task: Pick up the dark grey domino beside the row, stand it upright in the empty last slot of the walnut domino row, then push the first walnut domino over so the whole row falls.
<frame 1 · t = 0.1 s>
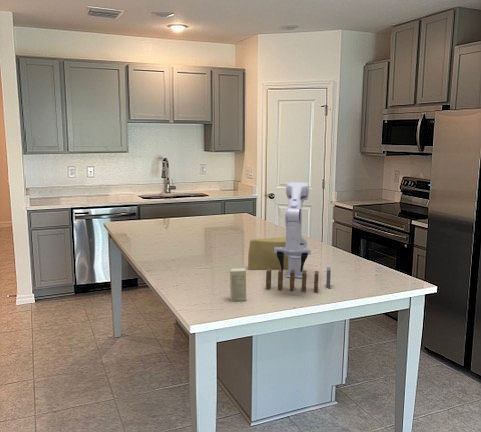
hand: (291, 270, 196), 10 cm above the counter, tool pointing down, fingers open, 7 cm apart
walnut domino 3: (292, 289, 204), on the counter
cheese: (270, 268, 237), on the counter
walnut domino 2: (280, 288, 205), on the counter
grey domino: (328, 286, 208), on the counter
walnut domino 5: (315, 291, 202), on the counter
walnut domino 4: (303, 290, 203), on the counter
skincare box: (238, 299, 191), on the counter
walnut domino 1: (268, 287, 206), on the counter
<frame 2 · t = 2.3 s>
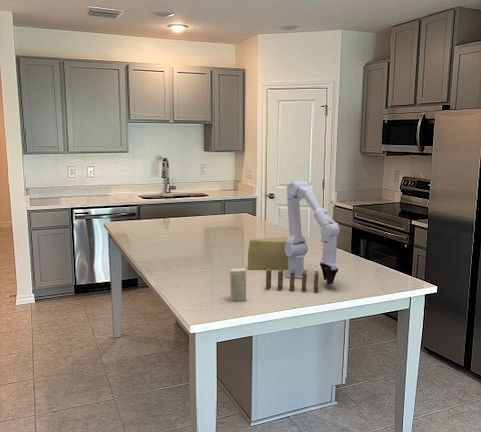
hand: (328, 281, 208), 2 cm above the counter, tool pointing down, fingers closed on grey domino, 5 cm apart
grey domino: (328, 286, 208), on the counter, touching gripper
everything else where it was.
when the fingers open (3 cm above the counter, at t = 6.3 s): grey domino drops 1 cm, on the counter.
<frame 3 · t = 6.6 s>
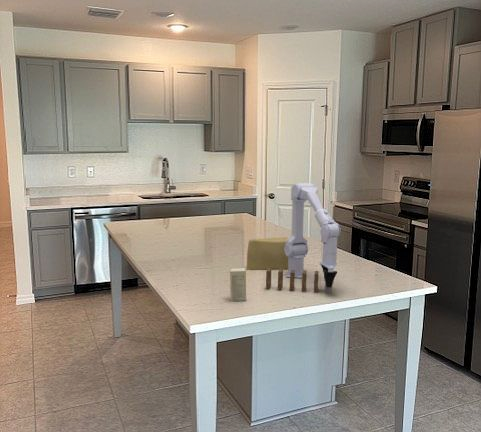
hand: (328, 284, 201), 3 cm above the counter, tool pointing down, fingers open, 7 cm apart
grey domino: (328, 291, 202), on the counter
everything else where it was.
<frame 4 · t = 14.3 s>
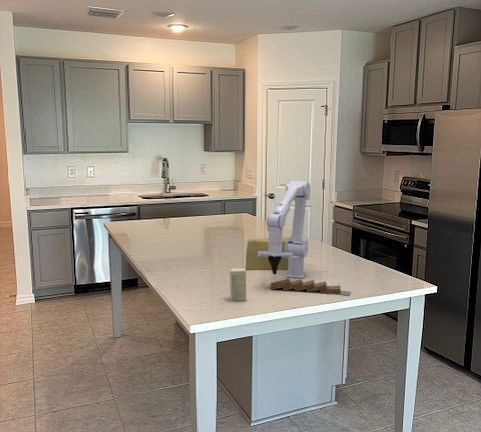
hand: (274, 273, 204), 6 cm above the counter, tool pointing down, fingers closed
walnut domino 3: (295, 287, 204), point 1 cm above the counter, tilted 71°, touching walnut domino 2, walnut domino 4
walnut domino 2: (283, 287, 205), point 1 cm above the counter, tilted 71°, touching walnut domino 1, walnut domino 3
grey domino: (330, 293, 201), on the counter, tilted 90°, touching walnut domino 5
walnut domino 5: (320, 289, 202), point 1 cm above the counter, tilted 84°, touching grey domino
walnut domino 4: (307, 288, 203), point 1 cm above the counter, tilted 73°, touching walnut domino 3
walnut domino 1: (271, 286, 206), point 1 cm above the counter, tilted 72°, touching walnut domino 2
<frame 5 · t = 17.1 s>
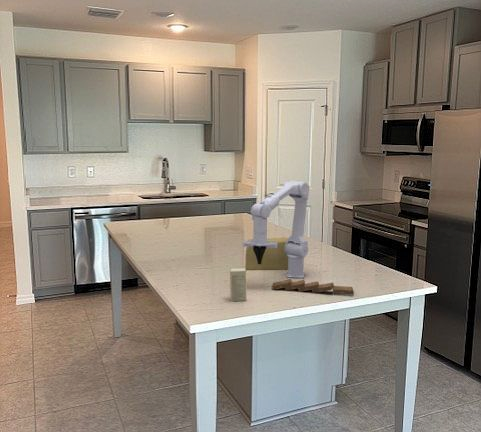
hand: (259, 263, 205), 10 cm above the counter, tool pointing down, fingers closed
walnut domino 3: (299, 288, 203), point 1 cm above the counter, tilted 73°, touching walnut domino 4
walnut domino 2: (285, 287, 205), point 1 cm above the counter, tilted 73°, touching walnut domino 1
grey domino: (333, 292, 201), on the counter, tilted 90°, touching walnut domino 5
walnut domino 5: (333, 289, 200), point 2 cm above the counter, tilted 90°, touching grey domino
walnut domino 4: (313, 289, 202), point 1 cm above the counter, tilted 73°, touching walnut domino 3
at the end: grey domino tilted 90°; grey domino inside the target area (0.8 cm from its centre), on the counter; walnut domino 1 tilted 74° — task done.
